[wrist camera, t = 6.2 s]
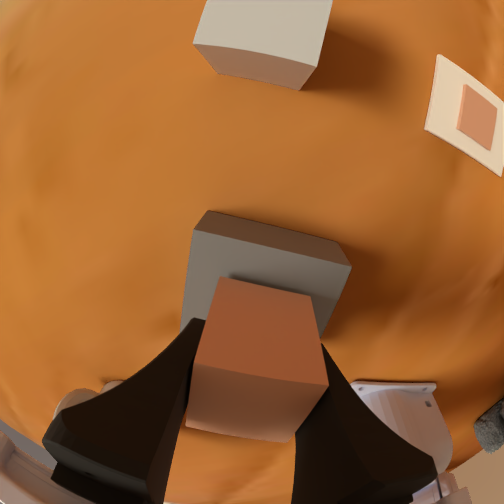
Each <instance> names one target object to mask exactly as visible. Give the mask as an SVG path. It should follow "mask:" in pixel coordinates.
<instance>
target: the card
mask: <svg viewBox="0 0 504 504" xmlns="http://www.w3.org/2000/svg"><path fill="white" fill-rule="evenodd" d="M424 130H426V131H427V132H429V133H431V134H433V135H435V136H437V137H438V138H440V139H442V140H444V141H446V142H447V143H449V144H451V145H452V146H454V147H456V148H457V149H459V150H461V151H462V152H464V153H465V154H467V155H468V156H470V157H472V158H473V159H475V160H476V161H478V162H479V163H481V164H482V165H483V166H485V167H486V168H488V169H489V170H491V171H492V172H493V173H495V174H496V175H497V176H500V177H501V174H502V170H503V166H504V102H503V101H502V100H500V99H499V98H498V97H497V96H496V95H495V94H494V93H492V92H491V91H490V90H489V89H488V88H486V87H485V86H484V85H483V84H481V83H480V82H479V81H478V80H476V79H475V78H474V77H472V76H471V75H470V74H468V73H467V72H465V71H464V70H463V69H461V68H460V67H458V66H457V65H456V64H454V63H453V62H451V61H450V60H448V59H447V58H445V57H443V56H442V55H440V54H438V55H437V58H436V66H435V74H434V80H433V86H432V92H431V98H430V103H429V108H428V113H427V118H426V122H425V127H424Z"/></svg>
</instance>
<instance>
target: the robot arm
mask: <svg viewBox="0 0 504 504" xmlns="http://www.w3.org/2000/svg"><path fill="white" fill-rule="evenodd" d="M205 323H206V320H203V319H199V318H195V317H194V318H192V319H191V320H190V321H189V323H188V324H187V325H186V327H185V328H184V329H183V330H182V332H181V333H180V334H179V335H178V336H177V337H176V338H175V339H174V340H173V341H172V342H171V343H170V344H169V346H168V347H167V348H166V349H165V350H163V351H162V352H161V353H160V354H159V355H158V356H157V357H156V358H155V359H153V360H152V361H151V362H150V363H149V364H147V365H146V366H145V367H144V368H142V369H141V370H140V371H138V372H137V373H136V374H134V375H133V376H131V377H130V378H128V379H127V380H125V381H123V382H122V383H120V384H119V385H117V386H115V387H113V388H112V389H110V390H108V391H106V392H104V393H102V394H100V395H98V396H96V397H94V398H92V399H89V400H87V401H84V402H82V403H79V404H76V405H73V406H71V407H68V408H65V409H62V410H61V411H60V412H59V413H58V414H57V416H56V417H55V418H54V420H53V421H52V422H51V424H50V426H49V428H48V429H47V431H46V433H45V435H44V437H43V439H42V443H43V445H44V447H45V448H46V450H47V451H48V452H49V453H50V454H51V455H52V456H53V458H54V459H55V460H56V461H57V462H58V463H57V465H56V467H55V469H54V471H53V470H52V469H50V468H48V467H47V466H45V465H43V464H42V463H40V462H38V461H37V460H35V459H34V458H32V457H31V456H29V455H28V454H26V453H25V452H23V451H22V450H20V449H19V448H18V447H16V446H15V444H14V443H13V442H12V441H11V440H10V439H9V438H8V437H7V436H6V435H5V434H4V433H3V432H1V431H0V501H1V502H2V503H3V504H163V502H164V497H165V491H166V486H167V482H168V477H169V472H170V467H171V463H172V458H173V454H174V450H175V445H176V441H177V437H178V433H179V429H180V425H181V422H182V419H183V416H184V414H185V411H186V408H187V405H188V401H189V393H190V386H191V379H192V371H193V364H194V360H195V356H196V353H197V349H198V346H199V343H200V339H201V336H202V333H203V329H204V326H205ZM321 347H322V352H323V357H324V362H325V367H326V372H327V377H328V383H329V386H328V388H327V389H326V391H325V392H324V393H323V395H322V396H321V398H320V399H319V401H318V402H317V404H316V405H315V406H314V408H313V409H312V411H311V412H310V413H309V415H308V416H307V417H306V419H305V420H304V421H303V423H302V424H301V425H300V427H299V428H298V429H297V431H296V432H295V439H296V455H295V472H294V484H293V493H292V500H291V504H472V502H471V499H470V495H469V492H468V489H467V487H464V488H462V489H460V490H459V489H458V486H457V483H456V480H455V477H454V475H453V474H452V473H447V472H446V471H445V470H446V468H447V467H448V465H449V463H450V461H451V457H452V451H453V443H452V438H451V435H450V433H449V430H448V428H447V426H446V423H445V421H444V419H443V416H442V414H441V412H440V409H439V407H438V405H437V403H436V401H435V399H434V396H433V394H432V392H433V391H434V390H435V389H436V387H437V386H436V384H435V383H385V382H365V381H355V382H353V383H351V384H349V383H348V381H347V380H346V379H345V377H344V376H343V374H342V373H341V371H340V370H339V368H338V367H337V365H336V364H335V362H334V361H333V359H332V358H331V356H330V355H329V353H328V352H327V350H326V349H325V347H324V346H323V344H322V343H321Z"/></svg>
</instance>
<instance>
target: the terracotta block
mask: <svg viewBox="0 0 504 504" xmlns="http://www.w3.org/2000/svg"><path fill="white" fill-rule="evenodd" d="M328 386H329V383H328V377H327V372H326V367H325V362H324V357H323V352H322V347H321V342H320V338H319V333H318V328H317V324H316V319H315V314H314V310H313V306H312V301H311V297H310V296H307V295H303V294H298V293H293V292H288V291H284V290H279V289H275V288H270V287H266V286H261V285H257V284H252V283H248V282H243V281H239V280H235V279H230V278H226V277H222V276H220V277H219V280H218V283H217V287H216V290H215V293H214V296H213V300H212V303H211V306H210V309H209V313H208V316H207V319H206V323H205V326H204V329H203V333H202V336H201V339H200V343H199V346H198V349H197V353H196V356H195V360H194V364H193V371H192V379H191V386H190V393H189V401H188V409H187V418H186V426H187V427H191V428H196V429H200V430H205V431H209V432H214V433H219V434H225V435H230V436H236V437H243V438H250V439H257V440H265V441H275V442H286V443H287V442H288V441H289V439H290V438H291V437H292V436H293V434H294V433H295V432H296V431H297V429H298V428H299V427H300V425H301V424H302V423H303V421H304V420H305V419H306V417H307V416H308V415H309V413H310V412H311V411H312V409H313V408H314V406H315V405H316V404H317V402H318V401H319V399H320V398H321V396H322V395H323V393H324V392H325V391H326V389H327V388H328Z"/></svg>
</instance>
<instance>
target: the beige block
mask: <svg viewBox="0 0 504 504" xmlns="http://www.w3.org/2000/svg"><path fill="white" fill-rule="evenodd" d="M332 1H333V0H207V2H206V5H205V8H204V11H203V14H202V16H201V19H200V22H199V25H198V28H197V32H196V35H195V38H194V41H193V45H194V46H195V47H196V48H197V49H198V50H199V52H200V53H201V54H202V55H203V56H204V58H205V59H206V60H207V61H208V62H209V64H210V65H211V66H212V67H213V69H214V70H215V71H216V72H217V73H218V74H223V75H229V76H235V77H241V78H246V79H251V80H256V81H261V82H266V83H270V84H275V85H279V86H283V87H287V88H291V89H295V90H298V91H299V90H300V89H301V87H302V86H303V85H304V83H305V82H306V81H307V79H308V78H309V77H310V75H311V74H312V73H313V71H314V70H315V69H316V67H317V64H318V60H319V56H320V52H321V48H322V44H323V40H324V35H325V31H326V27H327V23H328V19H329V14H330V10H331V6H332Z"/></svg>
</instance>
